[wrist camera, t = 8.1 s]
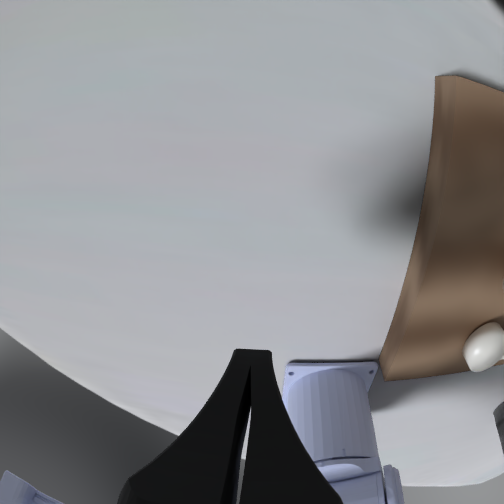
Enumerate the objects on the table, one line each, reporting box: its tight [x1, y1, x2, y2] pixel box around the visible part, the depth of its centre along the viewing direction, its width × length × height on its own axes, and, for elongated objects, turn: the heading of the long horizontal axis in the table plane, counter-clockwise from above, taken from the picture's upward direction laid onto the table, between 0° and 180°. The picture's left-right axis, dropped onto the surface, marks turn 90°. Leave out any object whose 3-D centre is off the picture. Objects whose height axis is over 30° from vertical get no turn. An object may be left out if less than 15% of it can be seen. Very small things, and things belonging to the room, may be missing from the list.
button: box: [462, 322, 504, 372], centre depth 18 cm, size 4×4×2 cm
